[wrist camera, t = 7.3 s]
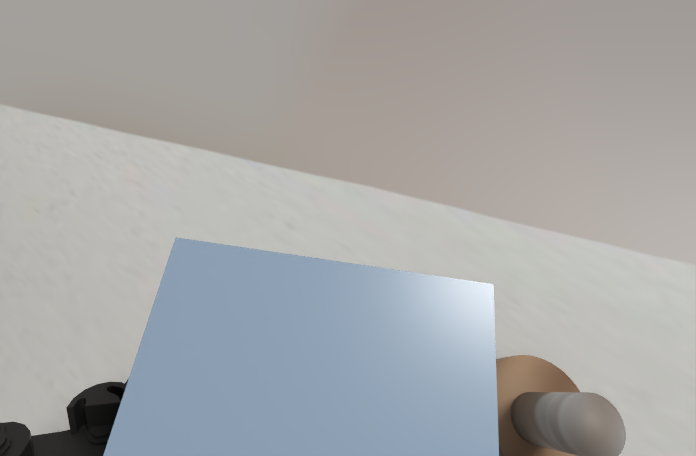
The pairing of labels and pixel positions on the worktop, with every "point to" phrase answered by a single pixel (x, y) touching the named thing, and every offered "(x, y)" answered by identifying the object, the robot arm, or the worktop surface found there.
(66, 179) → the worktop surface
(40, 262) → the worktop surface
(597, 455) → the post stand
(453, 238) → the worktop surface
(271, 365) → the upright blue pillar
